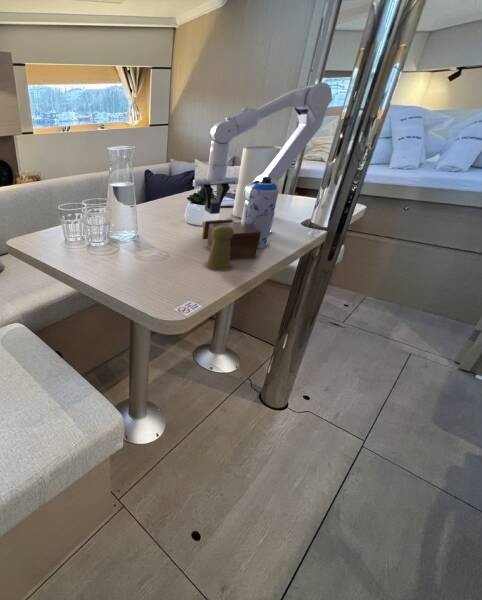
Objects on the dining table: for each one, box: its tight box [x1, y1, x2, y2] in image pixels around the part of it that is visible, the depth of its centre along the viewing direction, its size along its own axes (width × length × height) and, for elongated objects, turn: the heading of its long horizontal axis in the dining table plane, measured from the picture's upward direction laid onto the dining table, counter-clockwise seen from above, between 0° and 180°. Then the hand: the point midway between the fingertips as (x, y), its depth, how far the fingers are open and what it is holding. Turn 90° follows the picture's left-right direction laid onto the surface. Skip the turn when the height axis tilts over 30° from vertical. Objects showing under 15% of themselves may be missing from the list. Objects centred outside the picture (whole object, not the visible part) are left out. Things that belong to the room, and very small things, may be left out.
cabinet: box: [206, 221, 261, 260], centre depth 93 cm, size 11×10×8 cm
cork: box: [206, 226, 234, 271], centre depth 84 cm, size 6×6×11 cm
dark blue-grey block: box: [204, 198, 222, 215], centre depth 108 cm, size 6×3×4 cm, turn 4°
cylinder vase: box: [232, 145, 282, 219], centre depth 122 cm, size 12×12×25 cm
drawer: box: [201, 218, 234, 241], centre depth 101 cm, size 14×9×6 cm, turn 4°
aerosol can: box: [244, 177, 279, 249], centre depth 95 cm, size 8×8×20 cm
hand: (212, 207), depth 108 cm, fingers closed on dark blue-grey block, 3 cm apart
